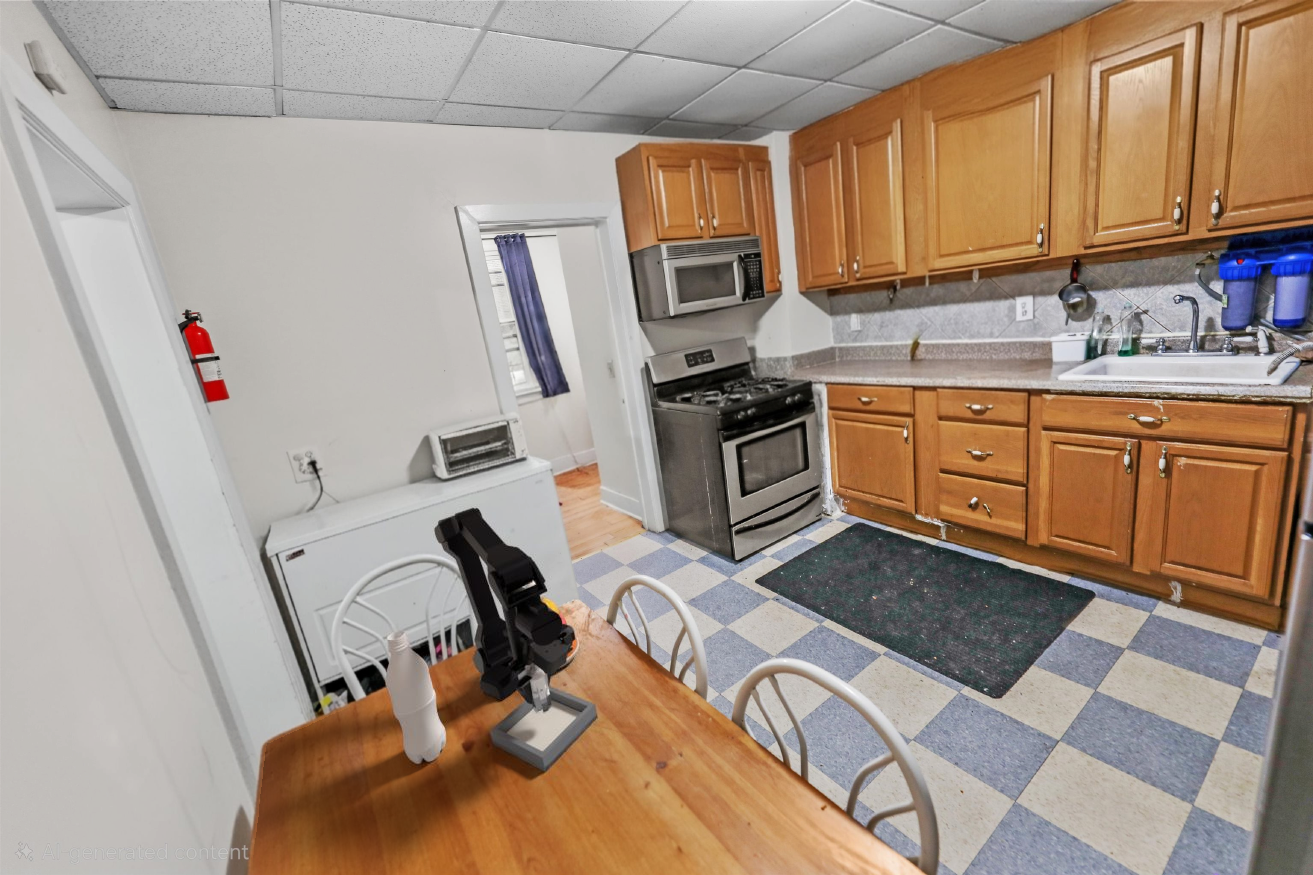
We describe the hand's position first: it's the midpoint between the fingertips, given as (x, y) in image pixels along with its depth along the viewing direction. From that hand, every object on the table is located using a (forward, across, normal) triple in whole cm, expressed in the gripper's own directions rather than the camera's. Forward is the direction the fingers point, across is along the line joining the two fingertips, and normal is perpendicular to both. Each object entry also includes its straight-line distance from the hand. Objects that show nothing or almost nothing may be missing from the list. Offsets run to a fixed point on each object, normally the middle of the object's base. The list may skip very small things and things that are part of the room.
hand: (538, 696), depth 101 cm
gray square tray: (+8, 0, 0) cm, 8 cm away
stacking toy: (+8, +17, +16) cm, 25 cm away
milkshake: (+3, 0, 0) cm, 3 cm away
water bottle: (+8, -14, +17) cm, 23 cm away
